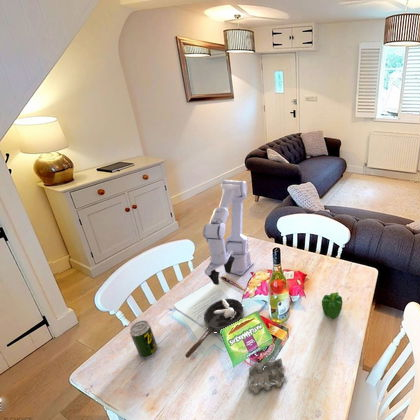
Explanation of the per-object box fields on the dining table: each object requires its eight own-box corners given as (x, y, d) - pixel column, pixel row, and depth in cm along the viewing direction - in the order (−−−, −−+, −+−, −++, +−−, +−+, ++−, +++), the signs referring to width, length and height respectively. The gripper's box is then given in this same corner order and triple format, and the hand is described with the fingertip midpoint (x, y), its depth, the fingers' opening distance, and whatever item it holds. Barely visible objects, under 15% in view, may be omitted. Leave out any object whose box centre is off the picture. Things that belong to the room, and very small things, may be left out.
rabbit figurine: (228, 324, 101) (211, 312, 102) (230, 324, 105) (213, 311, 106) (238, 310, 104) (222, 298, 104) (240, 310, 107) (224, 298, 108)
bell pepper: (326, 324, 104) (327, 305, 99) (318, 309, 110) (319, 290, 106) (345, 318, 106) (347, 299, 102) (337, 303, 113) (338, 285, 109)
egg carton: (249, 395, 80) (247, 387, 78) (249, 371, 86) (248, 363, 85) (285, 387, 82) (284, 379, 80) (282, 364, 89) (282, 356, 87)
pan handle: (210, 328, 98) (209, 325, 97) (214, 330, 98) (213, 326, 97) (184, 357, 88) (183, 354, 87) (188, 359, 87) (187, 356, 87)
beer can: (137, 360, 88) (126, 335, 83) (142, 346, 93) (133, 321, 88) (155, 357, 90) (145, 332, 84) (160, 343, 94) (151, 318, 89)
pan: (221, 301, 112) (220, 294, 111) (251, 310, 108) (250, 304, 107) (196, 327, 100) (195, 321, 99) (228, 339, 96) (227, 332, 95)
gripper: (221, 239, 113) (225, 265, 119) (195, 259, 100) (201, 286, 106) (235, 243, 111) (239, 269, 117) (211, 263, 98) (216, 291, 104)
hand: (222, 278), depth 111 cm, fingers open, 7 cm apart
